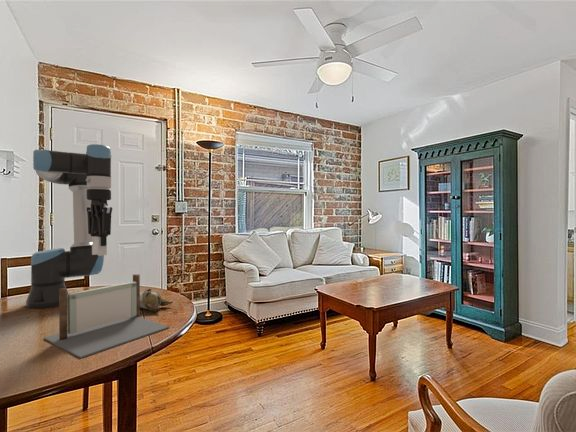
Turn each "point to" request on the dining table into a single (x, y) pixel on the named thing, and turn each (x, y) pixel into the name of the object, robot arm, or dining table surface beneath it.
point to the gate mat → (106, 336)
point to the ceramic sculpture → (152, 300)
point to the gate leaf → (100, 306)
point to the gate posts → (64, 307)
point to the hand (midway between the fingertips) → (99, 254)
